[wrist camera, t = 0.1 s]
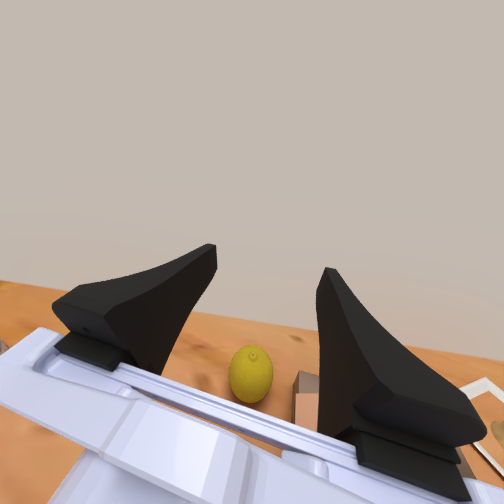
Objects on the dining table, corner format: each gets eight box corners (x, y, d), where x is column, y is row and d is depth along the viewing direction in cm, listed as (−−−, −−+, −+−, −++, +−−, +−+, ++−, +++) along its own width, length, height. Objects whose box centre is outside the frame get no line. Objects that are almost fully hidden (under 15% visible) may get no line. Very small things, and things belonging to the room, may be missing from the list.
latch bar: (298, 445, 17) (294, 442, 17) (298, 397, 20) (295, 393, 20) (396, 459, 14) (394, 454, 13) (377, 398, 17) (375, 393, 17)
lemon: (258, 360, 28) (263, 327, 23) (276, 401, 23) (286, 369, 19) (223, 375, 25) (223, 341, 21) (236, 423, 21) (238, 392, 17)
